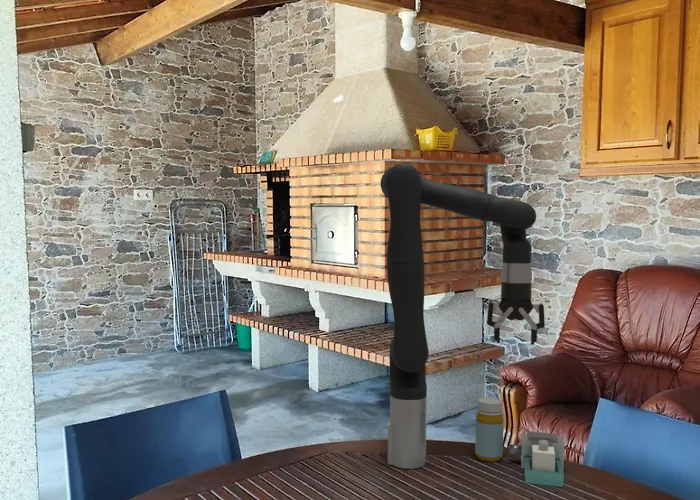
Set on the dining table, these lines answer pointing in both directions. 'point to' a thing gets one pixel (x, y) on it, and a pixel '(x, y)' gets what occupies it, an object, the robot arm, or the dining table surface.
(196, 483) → the dining table surface
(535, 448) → the white cube with peg
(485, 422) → the bottle
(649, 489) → the dining table surface
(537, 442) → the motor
